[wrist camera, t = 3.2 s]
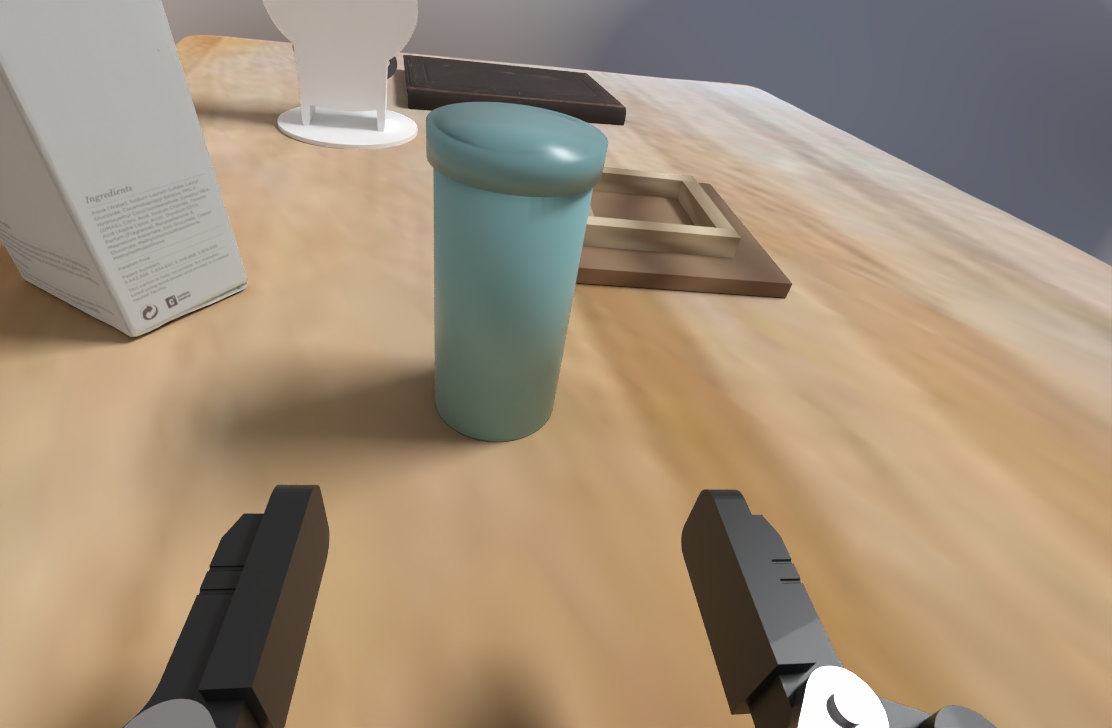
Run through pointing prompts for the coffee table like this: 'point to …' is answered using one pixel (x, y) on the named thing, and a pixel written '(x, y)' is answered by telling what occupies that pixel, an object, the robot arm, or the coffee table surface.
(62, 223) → the skincare box
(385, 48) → the panda figurine
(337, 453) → the coffee table surface
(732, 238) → the collar base
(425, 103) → the hardcover book
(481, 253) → the teal domed canister
